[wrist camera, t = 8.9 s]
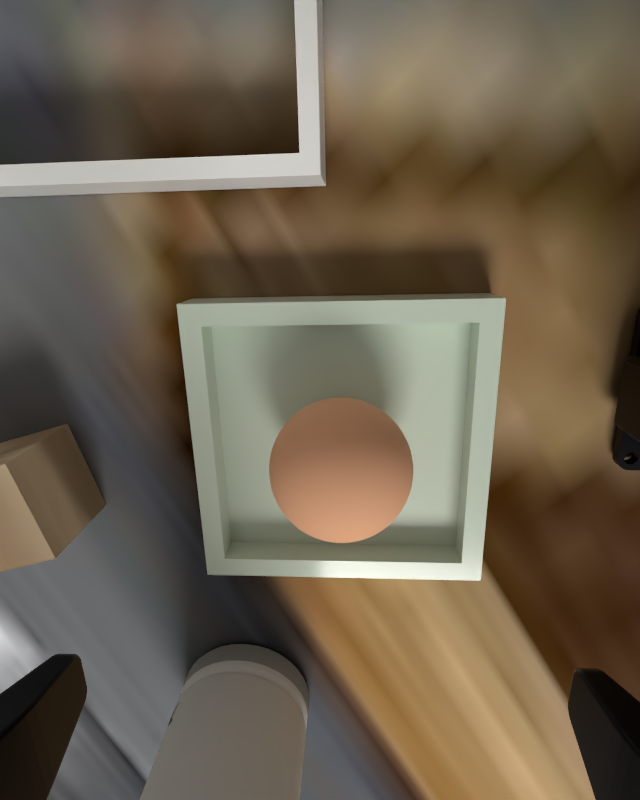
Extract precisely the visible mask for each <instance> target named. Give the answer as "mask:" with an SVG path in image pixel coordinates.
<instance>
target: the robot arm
mask: <svg viewBox="0 0 640 800" xmlns="http://www.w3.org/2000/svg"><path fill="white" fill-rule="evenodd" d="M615 424H616V425H617V431H616V437H615V443H614V449H613V460H614V462H615V463H616V464H618V465H619V466H620V467H621V468H623V469H626V470H640V308H639V310H638V313H637V316H636V322H635V328H634V334H633V339H632V345H631V351H630V357H629V358H628V359H627V360H626V361H625V363H624V368H623V374H622V380H621V386H620V392H619V397H618V403H617V409H616V415H615ZM631 452H632V456H631V458H629V459H628V460H624V458H625V456H626V455H627V454H628V453H631ZM86 695H87V685H86V681H85V676H84V672H83V668H82V663H81V659H80V657H79V656H78V655H76V654H56V655H54V656H52V657H51V658H49V659H48V660H46V661H45V662H44V663H42V664H41V665H39V666H38V667H37V668H35V669H34V670H33V671H31V672H30V673H28V674H27V675H26V676H24V677H23V678H22V679H20V680H19V681H17V682H16V683H15V684H13V685H12V686H10V687H9V688H8V689H6V690H5V691H4V692H2V693H1V694H0V800H46V799H47V797H48V795H49V792H50V790H51V787H52V785H53V783H54V780H55V778H56V775H57V773H58V770H59V767H60V765H61V762H62V760H63V757H64V755H65V752H66V749H67V747H68V744H69V742H70V739H71V736H72V734H73V731H74V729H75V726H76V724H77V721H78V718H79V716H80V713H81V711H82V708H83V705H84V703H85V700H86ZM568 711H569V717H570V720H571V723H572V727H573V730H574V733H575V736H576V739H577V742H578V745H579V749H580V752H581V755H582V758H583V761H584V764H585V767H586V771H587V774H588V777H589V780H590V783H591V786H592V789H593V793H594V796H595V799H596V800H640V702H639V701H638V700H637V699H635V698H634V697H633V696H632V695H631V694H629V693H628V692H627V691H626V690H625V689H624V688H622V687H621V686H620V685H619V684H618V683H616V682H615V681H614V680H613V679H612V678H611V677H609V676H608V675H607V674H606V673H605V672H603V671H601V670H599V669H591V668H578V669H576V670H575V671H574V673H573V677H572V683H571V688H570V694H569V700H568Z"/></svg>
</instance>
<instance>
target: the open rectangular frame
mask: <svg viewBox="0 0 640 800" xmlns="http://www.w3.org/2000/svg"><path fill="white" fill-rule="evenodd" d="M294 9H295V38H296V67H297V96H298V125H299V153H286V154H261V155H236V156H210V157H185V158H160V159H135V160H110V161H84V162H59V163H34V164H9V165H0V197H21V196H50V195H79V194H107V193H136V192H165V191H194V190H222V189H251V188H280V187H309V186H326V158H325V108H324V58H323V8H322V0H294Z"/></svg>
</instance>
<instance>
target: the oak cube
mask: <svg viewBox="0 0 640 800" xmlns="http://www.w3.org/2000/svg"><path fill="white" fill-rule="evenodd" d="M105 505H106V503H105V501H104V499H103V497H102V495H101V493H100V491H99V488H98V486H97V484H96V482H95V480H94V478H93V476H92V474H91V472H90V470H89V468H88V465H87V463H86V461H85V459H84V457H83V455H82V453H81V451H80V449H79V447H78V445H77V442H76V440H75V438H74V436H73V434H72V432H71V430H70V428H69V426H68V424H65V425H62V426H58V427H55V428H51V429H47V430H44V431H40V432H37V433H33V434H30V435H26V436H23V437H19V438H15V439H12V440H8V441H5V442H1V443H0V572H1V571H5V570H9V569H13V568H18V567H22V566H26V565H30V564H35V563H39V562H43V561H47V560H51V559H56V558H57V556H58V555H59V554H60V553H61V552H62V551H63V550H64V549H65V548H66V547H67V546H68V545H69V544H70V543H71V542H72V540H73V539H74V538H75V537H76V536H77V535H78V534H79V533H80V532H81V531H82V530H83V529H84V528H85V527H86V525H87V524H88V523H89V522H90V521H91V520H92V519H93V518H94V517H95V516H96V515H97V514H98V513H99V512H100V510H101V509H102V508H103V507H104V506H105Z"/></svg>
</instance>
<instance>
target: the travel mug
mask: <svg viewBox="0 0 640 800" xmlns="http://www.w3.org/2000/svg"><path fill="white" fill-rule="evenodd" d="M308 706H309V692H308V687H307V685H306V682H305V680H304V678H303V676H302V675H301V673H300V672H299V670H298V669H297V668H296V667H295V666H294V665H293V664H292V663H291V662H290V661H289V660H288V659H286V658H285V657H283V656H282V655H280V654H279V653H276V652H274V651H272V650H270V649H267V648H264V647H260V646H257V645H250V644H231V645H226V646H221V647H218V648H216V649H213V650H211V651H209V652H208V653H206V654H205V655H203V656H201V657H200V658H199V659H198V660H197V661H196V662H195V663H194V664H193V666H192V667H191V669H190V671H189V672H188V675H187V677H186V680H185V683H184V685H183V688H182V691H181V693H180V697H179V700H178V702H177V704H176V706H175V709H174V711H173V714H172V717H171V719H170V722H169V725H168V727H167V730H166V732H165V735H164V738H163V740H162V743H161V745H160V748H159V751H158V753H157V756H156V759H155V761H154V764H153V766H152V769H151V772H150V774H149V777H148V779H147V782H146V785H145V787H144V790H143V793H142V795H141V798H140V800H300V789H301V779H302V768H303V758H304V748H305V737H306V726H307V716H308Z"/></svg>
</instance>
